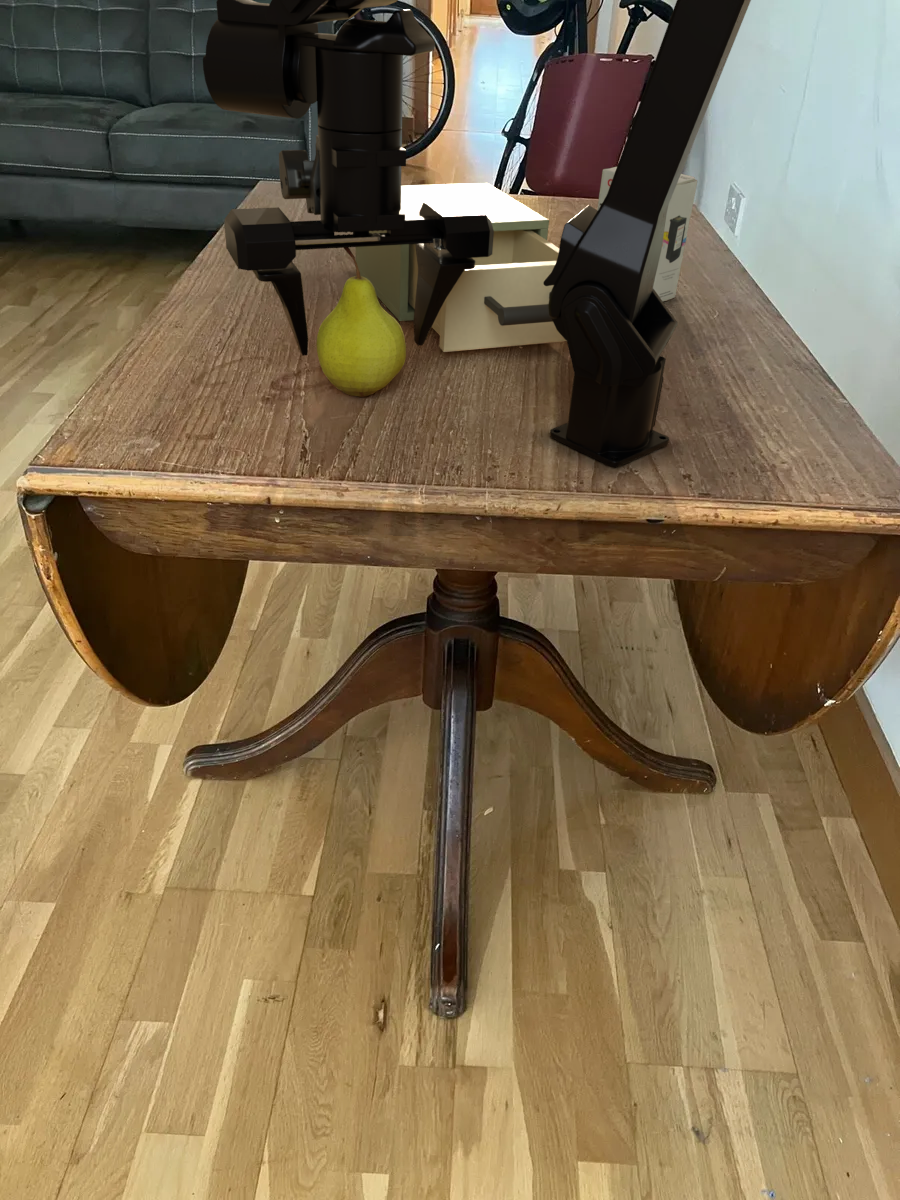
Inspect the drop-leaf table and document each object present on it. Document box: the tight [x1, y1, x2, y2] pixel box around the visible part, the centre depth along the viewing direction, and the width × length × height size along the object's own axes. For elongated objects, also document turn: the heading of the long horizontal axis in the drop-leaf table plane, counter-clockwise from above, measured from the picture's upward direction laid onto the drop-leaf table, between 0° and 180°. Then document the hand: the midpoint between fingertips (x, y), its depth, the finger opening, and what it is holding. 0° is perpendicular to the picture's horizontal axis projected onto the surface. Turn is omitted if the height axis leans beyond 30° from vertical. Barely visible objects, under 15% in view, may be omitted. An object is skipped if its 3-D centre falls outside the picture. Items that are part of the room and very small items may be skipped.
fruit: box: [316, 247, 407, 398], centre depth 71 cm, size 7×7×12 cm
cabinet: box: [355, 182, 550, 322], centre depth 94 cm, size 16×15×9 cm
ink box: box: [596, 166, 698, 302], centre depth 96 cm, size 9×5×12 cm, turn 45°
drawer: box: [408, 230, 567, 353], centre depth 84 cm, size 19×13×7 cm
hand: (362, 348), depth 73 cm, fingers open, 9 cm apart
